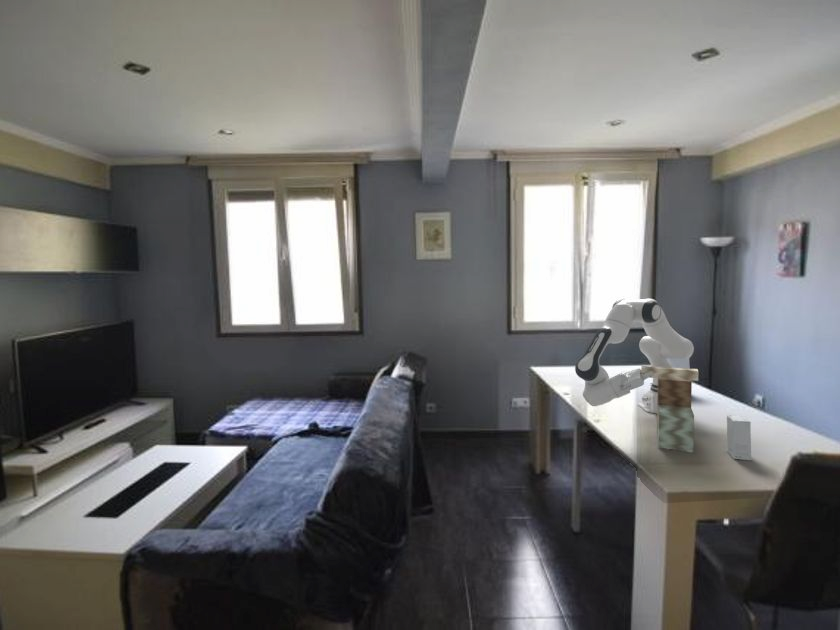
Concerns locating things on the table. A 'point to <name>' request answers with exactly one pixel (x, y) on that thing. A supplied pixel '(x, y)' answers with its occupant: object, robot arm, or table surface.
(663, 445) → the stepped stand
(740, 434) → the skincare box
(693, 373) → the birch batten
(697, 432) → the table surface
